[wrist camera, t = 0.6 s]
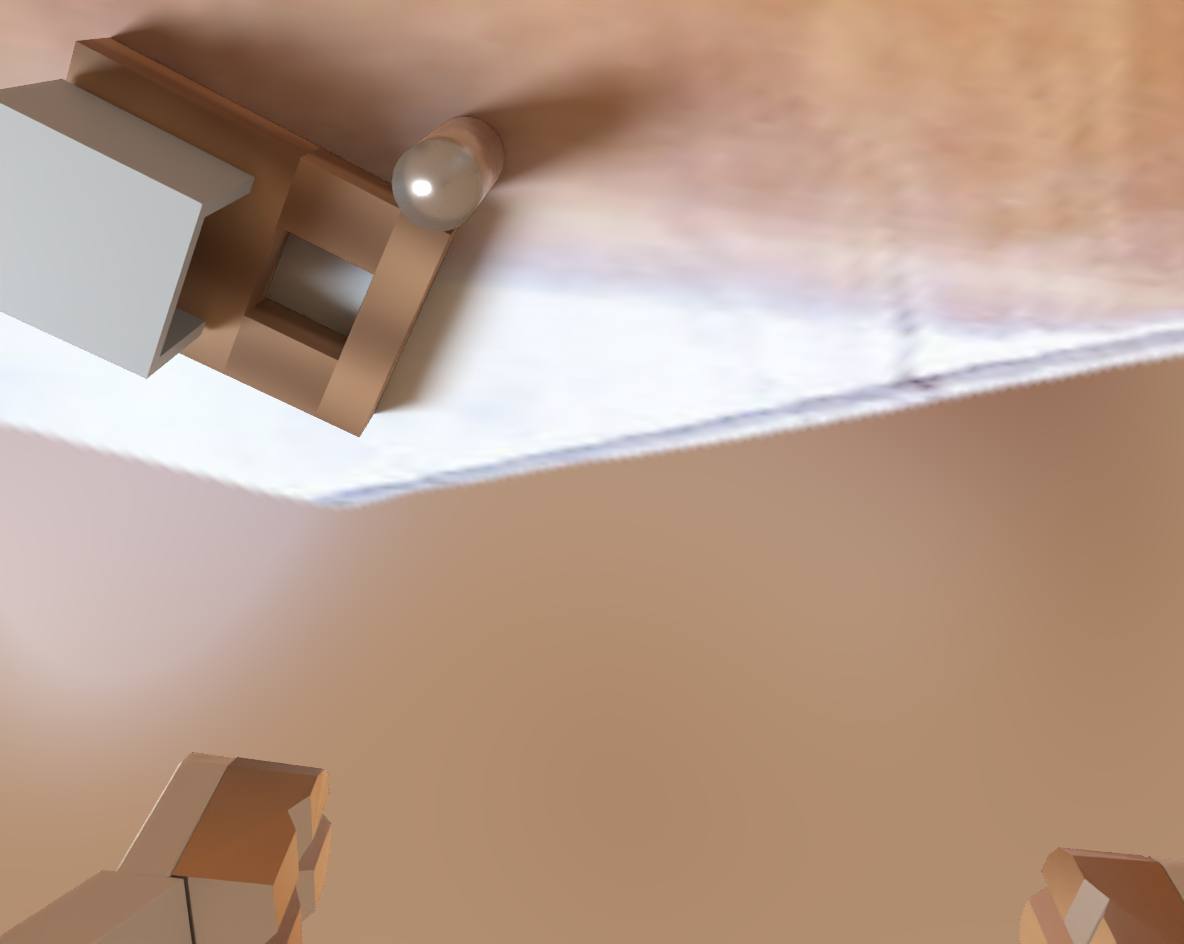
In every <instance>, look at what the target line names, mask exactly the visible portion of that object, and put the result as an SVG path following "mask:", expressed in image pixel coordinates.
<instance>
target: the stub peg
mask: <svg viewBox="0 0 1184 944" xmlns="http://www.w3.org/2000/svg"><path fill="white" fill-rule="evenodd" d="M503 165H504V150H503V146H502V143H501V140H500V138H499V137H498V135H497V133H496V132H495V131H494V130H493V129H492V128H491V127H490V126H489V125H488V124H487V123H485V122H484V121H482V120H480V119H477V118H474V117H469V116H461V117H456V118H453V119H450V120H448V121H447V122H445V123H444V124H442V125H441V126H440V127H438V128H437V129H435V130H434V131H433V132H431V133H430V134H428V135H427V136H426V137H424V138H423V139H422V140H420V141H419V142H417V143H416V144H415V145H413V146H412V147H410V148H409V149H408V150H407V151H405V152H404V153H403V154H402V156H401V157H400V158H399V160H398V161H397V163H396V165H395V168H394V171H393V176H392V190H393V195H394V198H395V201H396V203H397V205H398V207H399V208H400V210H401V212H402V213H403V214H404V215H405V216H406V217H407V218H408V219H409V220H410V221H411V222H412V223H414V224H415V225H417V226H419V227H421V228H423V229H426V230H430V231H440V232H441V231H448V230H452V229H455V228H457V227H459V226H460V225H462V224H463V223H465V222H466V221H467V220H468V219H469V218H470V216H471V215H472V214H473V212H474V211H475V210H476V208H477V207H478V205H479V204H480V203H481V201H482V200H483V199H484V197H485V196H486V194H487V193H488V192H489V190H490V189H491V187H492V186H493V185H494V183H495V182H496V181H497V179H498V178H499V176H500V174H501V172H502V169H503Z"/></svg>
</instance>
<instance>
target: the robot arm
mask: <svg viewBox="0 0 1184 944" xmlns="http://www.w3.org/2000/svg"><path fill="white" fill-rule="evenodd" d="M329 795H330V787H329V773H328V771H326V770H325V769H321V768H314V767H306V766H299V765H291V764H284V763H276V762H269V761H261V760H254V759H246V758H239V757H237V758H232V757H224V756H217V755H209V754H203V753H195V752H192V753H191V754H190V755H188V756H187V757H186V758H185V759H184V760H183V761H182V762H180V764H179V765H178V767H177V769H176V771H175V772H174V774H173V775H172V777H171V779H170V780H169V782H168V784H167V786H166V787H165V789H164V791H163V792H162V794H161V796H160V797H159V799H158V801H157V803H156V804H155V806H154V807H153V809H152V811H151V813H150V814H149V816H148V818H147V819H146V821H145V823H144V824H143V826H142V828H141V829H140V831H139V833H138V834H137V836H136V838H135V839H134V841H133V843H132V844H131V846H130V848H129V850H128V851H127V853H126V855H125V857H124V858H123V860H122V861H121V863H120V865H119V866H118V868H117V870H116V871H107V870H101V871H100V872H98V873H96V874H95V875H93V876H92V877H90V878H89V879H87V880H85V881H84V882H82V883H81V884H80V885H78V886H76V887H75V888H73V889H71V890H70V891H68V892H67V893H65V894H64V895H62V896H61V897H59V898H57V899H56V900H54V901H53V902H51V903H50V904H48V905H47V906H45V907H44V908H42V909H40V910H39V911H37V912H36V913H34V914H33V915H31V916H30V917H28V918H27V919H25V920H23V921H22V922H20V923H19V924H17V925H16V926H14V927H13V928H11V929H9V930H8V931H6V932H5V933H3V934H2V935H0V944H302V921H303V920H305V919H306V918H307V917H308V916H310V915H311V914H312V913H313V912H314V911H316V908H317V905H318V901H319V899H320V896H321V892H322V890H323V886H324V882H325V877H326V873H327V868H328V863H329V857H330V847H331V823H330V822H329V820H328V819H327V818H326V817H325V816H324V815H323V811H324V808H325V806H326V803H327V800H328V798H329ZM1041 872H1042V874H1043V876H1044V879H1045V881H1046V883H1047V885H1048V886H1047V887H1045V888H1044V889H1042V890H1040V891H1039V892H1037V893H1036V894H1034V895H1033V896H1031V897H1030V898H1028V900H1027V903H1026V905H1025V908H1024V911H1023V913H1022V916H1021V918H1020V935H1019V936H1020V937H1019V944H1184V860H1181V859H1172V858H1161V857H1151V856H1149V857H1144V856H1142V855H1132V854H1121V853H1112V852H1102V851H1091V850H1081V849H1070V848H1060V847H1059V848H1057V849H1055V850H1054V851H1053V852H1051V853H1050V854H1049V855H1048V857H1047V859H1046V861H1045V863H1044V865H1043V867H1042V870H1041Z"/></svg>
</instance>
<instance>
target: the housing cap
mask: <svg viewBox="0 0 1184 944" xmlns="http://www.w3.org/2000/svg"><path fill="white" fill-rule="evenodd" d="M254 179H255V177H254V176H252V175H250V174H248V173H246V172H244V171H242V170H240V169H238V168H236V167H234V166H232V165H230V164H228V163H226V162H224V161H222V160H220V159H218V158H216V157H214V156H212V155H210V154H209V153H207V152H205V151H203V150H201V149H199V148H197V147H195V146H193V145H191V144H189V143H187V142H185V141H183V140H181V139H179V138H177V137H175V136H173V135H171V134H169V133H167V132H165V131H163V130H161V129H159V128H157V127H155V126H154V125H152V124H150V123H148V122H146V121H144V120H142V119H140V118H138V117H136V116H134V115H132V114H130V113H128V112H126V111H124V110H122V109H120V108H118V107H116V106H114V105H112V104H110V103H108V102H106V101H104V100H102V99H101V98H99V97H97V96H95V95H93V94H91V93H89V92H87V91H85V90H83V89H81V88H79V87H77V86H75V85H73V84H71V83H69V82H67V81H65V80H63V79H59V80H53V81H47V82H42V83H36V84H30V85H24V86H18V87H12V88H6V89H0V311H1V312H3V313H5V314H7V315H9V316H12V317H14V318H16V319H18V320H20V321H22V322H25V323H27V324H29V325H31V326H33V327H36V328H38V329H40V330H42V331H44V332H46V333H49V334H51V335H53V336H55V337H57V338H59V339H62V340H64V341H66V342H68V343H70V344H72V345H75V346H77V347H79V348H81V349H83V350H85V351H88V352H90V353H92V354H94V355H96V356H98V357H101V358H103V359H105V360H107V361H109V362H111V363H114V364H116V365H118V366H120V367H122V368H124V369H127V370H129V371H131V372H133V373H135V374H137V375H140V376H142V377H144V378H146V379H147V378H148V377H149V376H151V375H152V374H153V373H154V372H155V371H157V370H158V369H159V368H160V367H162V366H163V365H164V364H165V363H167V362H168V361H169V360H170V359H172V358H173V357H174V356H175V355H177V354H178V353H179V352H180V351H182V350H183V349H184V348H185V347H187V346H188V345H189V344H190V343H192V342H193V341H194V340H195V339H197V338H198V337H199V336H200V335H201V334H202V331H203V328H204V325H205V322H206V321H205V320H202V319H200V318H198V317H196V316H194V315H192V314H190V313H188V312H186V311H184V310H182V309H179V308H177V307H176V305H177V302H178V299H179V296H180V292H181V289H182V286H183V283H184V280H185V277H186V274H187V271H188V268H189V265H190V262H191V258H192V255H193V252H194V249H195V246H196V243H197V240H198V237H199V234H200V231H201V227H202V224H203V221H204V218H205V217H206V216H208V215H210V214H212V213H214V212H215V211H217V210H219V209H221V208H223V207H225V206H226V205H228V204H230V203H232V202H234V201H236V200H238V199H239V198H241V197H243V196H245V195H247V194H249V193H250V190H251V187H252V185H253V182H254Z"/></svg>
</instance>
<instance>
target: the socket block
mask: <svg viewBox="0 0 1184 944" xmlns="http://www.w3.org/2000/svg"><path fill="white" fill-rule="evenodd" d="M66 81H67V82H69V83H71V84H73V85H75V86H77V87H79V88H81V89H83V90H85V91H87V92H89V93H91V94H93V95H95V96H97V97H99V98H101V99H102V100H104V101H106V102H108V103H110V104H112V105H114V106H116V107H118V108H120V109H122V110H124V111H126V112H128V113H130V114H132V115H134V116H136V117H138V118H140V119H142V120H144V121H146V122H148V123H150V124H152V125H154V126H155V127H157V128H159V129H161V130H163V131H165V132H167V133H169V134H171V135H173V136H175V137H177V138H179V139H181V140H183V141H185V142H187V143H189V144H191V145H193V146H195V147H197V148H199V149H201V150H203V151H205V152H207V153H209V154H210V155H212V156H214V157H216V158H218V159H220V160H222V161H224V162H226V163H228V164H230V165H232V166H234V167H236V168H238V169H240V170H242V171H244V172H246V173H248V174H250V175H252V176H254V177H255V179H254V182H253V185H252V187H251V190H250V193H249V194H247V195H245V196H243V197H241V198H239V199H238V200H236V201H234V202H232V203H230V204H228V205H226V206H225V207H223V208H221V209H219V210H217V211H215V212H214V213H212V214H210V215H208V216H206V217H205V218H204V221H203V224H202V227H201V231H200V234H199V237H198V240H197V243H196V246H195V249H194V252H193V255H192V258H191V262H190V265H189V268H188V271H187V274H186V277H185V280H184V283H183V286H182V289H181V292H180V296H179V299H178V302H177V305H176V307H177V308H179V309H182V310H184V311H186V312H188V313H190V314H192V315H194V316H196V317H198V318H200V319H202V320H205V321H206V322H205V325H204V328H203V331H202V334H201V335H200V336H199V337H198V338H197V339H195V340H194V341H193V342H192V343H190V344H189V345H188V346H187V347H185V348H184V349H183V350H182V351H180V352H179V353H180V354H183V355H185V356H187V357H189V358H191V359H193V360H195V361H197V362H200V363H202V364H204V365H206V366H208V367H210V368H212V369H215V370H217V371H219V372H221V373H223V374H225V375H227V376H229V377H232V378H234V379H236V380H238V381H240V382H242V383H244V384H247V385H249V386H251V387H253V388H255V389H257V390H259V391H261V392H264V393H266V394H268V395H270V396H272V397H274V398H276V399H279V400H281V401H283V402H285V403H287V404H289V405H291V406H293V407H296V408H298V409H300V410H302V411H304V412H306V413H308V414H311V415H313V416H315V417H317V418H319V419H321V420H323V421H325V422H328V423H330V424H332V425H334V426H336V427H338V428H340V429H343V430H345V431H347V432H349V433H351V434H353V435H355V436H357V437H360V435H361V434H362V432H363V431H364V429H365V427H366V426H367V424H368V423H369V421H370V419H371V418H372V416H373V414H374V412H375V410H376V408H377V406H378V403H379V401H380V399H381V397H382V395H383V392H384V390H385V388H386V386H387V384H388V381H389V379H390V377H391V375H392V372H393V370H394V368H395V366H396V364H397V361H398V359H399V357H400V355H401V353H402V350H403V348H404V346H405V344H406V341H407V339H408V337H409V335H410V333H411V330H412V328H413V326H414V324H415V322H416V319H417V317H418V315H419V313H420V310H421V308H422V306H423V304H424V302H425V299H426V297H427V295H428V293H429V291H430V288H431V286H432V284H433V282H434V279H435V277H436V275H437V273H438V271H439V268H440V266H441V264H442V262H443V260H444V257H445V255H446V253H447V251H448V248H449V246H450V244H451V242H452V240H453V237H454V235H455V233H456V231H457V229H458V227H457V228H455V229H452V230H448V231H441V232H440V231H430V230H426V229H423V228H421V227H419V226H417V225H415V224H414V223H412V222H411V221H410V220H409V219H408V218H407V217H406V216H405V215H404V214H403V213H402V212H401V210H400V208H399V207H398V205H397V203H396V201H395V198H394V195H393V190H392V184H390V183H388V182H386V181H384V180H382V179H380V178H378V177H376V176H374V175H372V174H370V173H369V172H367V171H365V170H363V169H361V168H359V167H357V166H355V165H353V164H351V163H349V162H347V161H346V160H344V159H342V158H340V157H338V156H336V155H334V154H332V153H330V152H328V151H326V150H324V149H322V148H321V147H319V146H317V145H315V144H313V143H311V142H309V141H307V140H305V139H303V138H301V137H299V136H298V135H296V134H294V133H292V132H290V131H288V130H286V129H284V128H282V127H280V126H278V125H276V124H275V123H273V122H271V121H269V120H267V119H265V118H263V117H261V116H259V115H257V114H255V113H253V112H252V111H250V110H248V109H246V108H244V107H242V106H240V105H238V104H236V103H234V102H232V101H230V100H229V99H227V98H225V97H223V96H221V95H219V94H217V93H215V92H213V91H211V90H209V89H207V88H206V87H204V86H202V85H200V84H198V83H196V82H194V81H192V80H190V79H188V78H186V77H184V76H183V75H181V74H179V73H177V72H175V71H173V70H171V69H169V68H167V67H165V66H163V65H161V64H160V63H158V62H156V61H154V60H152V59H150V58H148V57H146V56H144V55H142V54H140V53H138V52H137V51H135V50H133V49H131V48H129V47H127V46H125V45H123V44H121V43H119V42H117V41H115V40H113V39H112V38H100V39H91V40H82V41H76V43H75V47H74V51H73V55H72V59H71V64H70V68H69V72H68V76H67V80H66ZM289 232H290V233H292V234H294V235H296V236H298V237H300V238H302V239H304V240H306V241H308V242H310V243H312V244H314V245H316V246H318V247H320V248H322V249H324V250H326V251H328V252H330V253H332V254H334V255H336V256H338V257H340V258H342V259H344V260H346V261H348V262H350V263H352V264H354V265H356V266H358V267H360V268H362V269H364V270H366V271H368V272H370V273H372V274H374V276H373V279H372V281H371V283H370V286H369V288H368V291H367V293H366V295H365V298H364V300H363V302H362V305H361V307H360V310H359V312H358V314H357V317H356V319H355V322H354V324H353V326H352V329H351V331H350V333H349V336H348V338H347V337H345V336H343V335H341V334H339V333H337V332H335V331H333V330H331V329H329V328H327V327H325V326H323V325H321V324H319V323H317V322H315V321H312V320H310V319H308V318H306V317H304V316H302V315H300V314H298V313H296V312H294V311H292V310H290V309H288V308H286V307H284V306H282V305H280V304H278V303H276V302H273V301H271V300H269V299H267V298H265V297H266V294H267V291H268V288H269V286H270V283H271V280H272V277H273V275H274V272H275V269H276V267H277V264H278V261H279V258H280V256H281V253H282V250H283V248H284V245H285V242H286V239H287V237H288V234H289Z"/></svg>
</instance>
